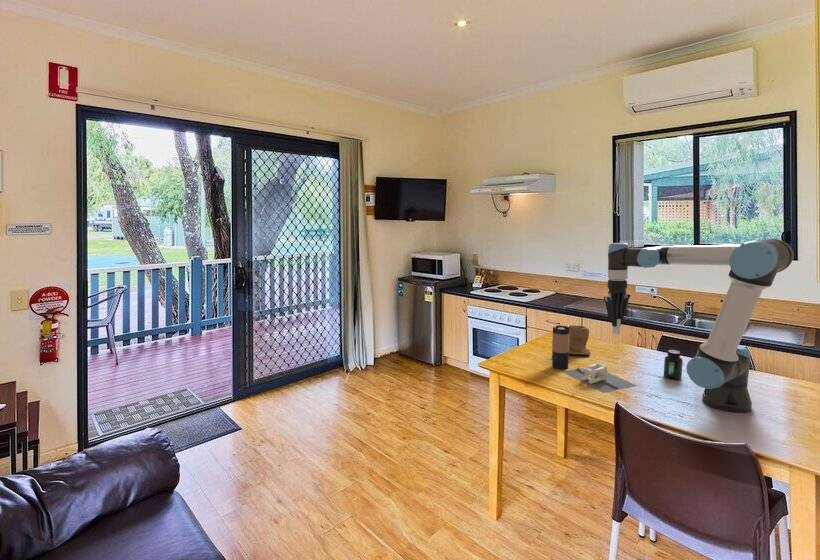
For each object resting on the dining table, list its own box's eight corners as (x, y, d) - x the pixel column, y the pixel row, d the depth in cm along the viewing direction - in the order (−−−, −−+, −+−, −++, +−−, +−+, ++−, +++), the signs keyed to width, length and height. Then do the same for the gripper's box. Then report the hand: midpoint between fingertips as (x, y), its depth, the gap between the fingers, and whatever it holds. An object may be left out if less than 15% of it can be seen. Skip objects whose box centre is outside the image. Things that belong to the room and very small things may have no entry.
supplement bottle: (672, 381, 186) (674, 354, 184) (659, 375, 192) (661, 349, 190) (685, 379, 187) (687, 352, 186) (671, 373, 194) (673, 348, 192)
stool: (606, 366, 184) (590, 372, 182) (607, 379, 186) (591, 385, 183) (596, 362, 190) (580, 367, 188) (597, 374, 191) (581, 380, 189)
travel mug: (569, 371, 201) (571, 329, 198) (552, 370, 202) (553, 329, 199) (567, 365, 208) (568, 325, 205) (550, 364, 210) (551, 325, 207)
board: (637, 386, 181) (637, 383, 181) (603, 393, 175) (603, 390, 175) (593, 366, 205) (593, 364, 205) (561, 372, 200) (561, 369, 199)
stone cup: (588, 350, 230) (589, 323, 228) (592, 357, 218) (593, 329, 216) (558, 349, 233) (559, 322, 231) (561, 356, 222) (561, 328, 220)
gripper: (621, 277, 187) (620, 329, 190) (598, 279, 183) (598, 333, 186) (636, 279, 180) (635, 333, 183) (612, 281, 176) (611, 337, 179)
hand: (616, 333), depth 185 cm, fingers closed
